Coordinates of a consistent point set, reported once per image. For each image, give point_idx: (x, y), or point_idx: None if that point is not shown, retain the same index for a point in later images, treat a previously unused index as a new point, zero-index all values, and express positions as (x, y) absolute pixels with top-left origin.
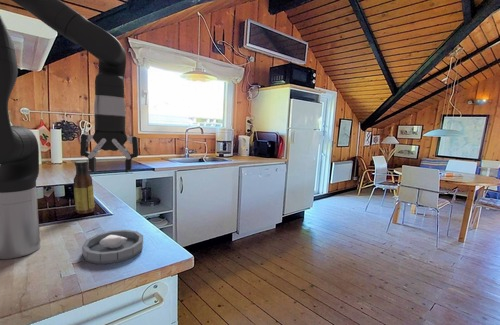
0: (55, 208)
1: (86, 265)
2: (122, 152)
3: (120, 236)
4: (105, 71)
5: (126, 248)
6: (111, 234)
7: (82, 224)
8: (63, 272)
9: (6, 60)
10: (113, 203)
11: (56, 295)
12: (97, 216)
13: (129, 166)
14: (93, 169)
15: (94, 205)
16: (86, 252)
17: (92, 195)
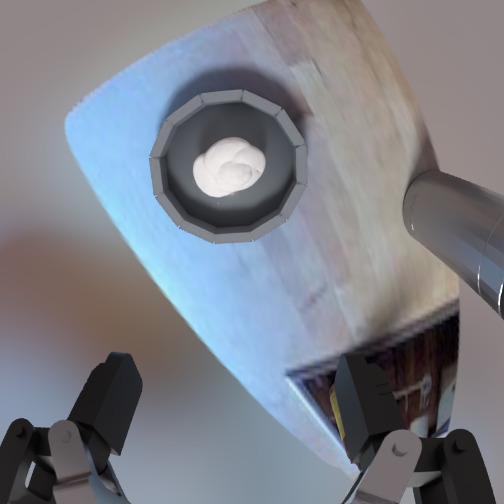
0: (396, 393)
1: (277, 96)
2: (81, 481)
3: (204, 161)
4: None
5: (181, 114)
6: (251, 229)
7: (343, 327)
8: (317, 77)
9: None
10: (295, 419)
11: (294, 5)
12: (318, 366)
13: (93, 383)
14: (351, 363)
15: (330, 399)
16: (284, 110)
17: (338, 416)
